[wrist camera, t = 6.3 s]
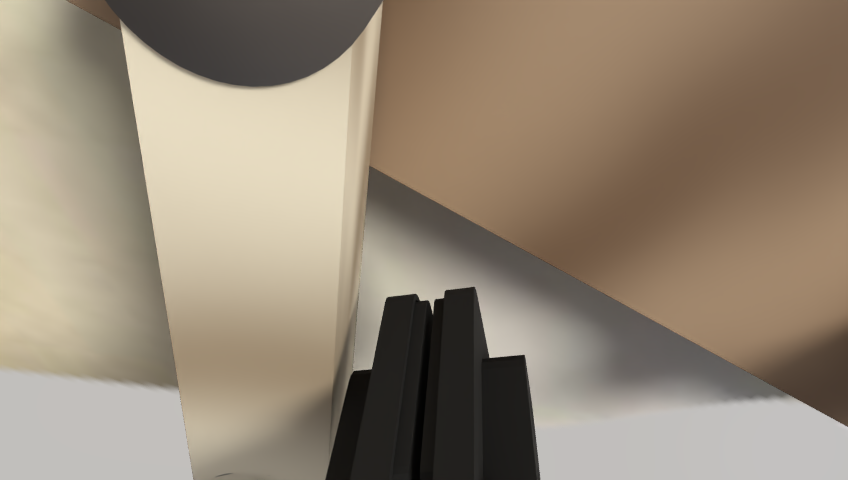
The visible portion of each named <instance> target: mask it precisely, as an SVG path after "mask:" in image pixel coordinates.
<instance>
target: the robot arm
mask: <svg viewBox="0 0 848 480" xmlns="http://www.w3.org/2000/svg"><path fill="white" fill-rule="evenodd" d="M325 480H540V472H539V463H538V454H537V444H536V435H535V426H534V418H533V409H532V401H531V394H530V387H529V380H528V373H527V366H526V360H525V355H518V356H507V357H497V358H489V354H488V348H487V343H486V338H485V333H484V328H483V323H482V318H481V313H480V308H479V302H478V297H477V293H476V289H475V287H470V288H462V289H453V290H446V291H445V295H444V298H443V299H435V302H434V312H433V313H432V309H431V306H430V303H429V301H428V300H427V301H420V300H419V297H418V296H417V294H411V295H402V296H393V297H388V298H387V299H386V302H385V306H384V311H383V316H382V321H381V326H380V331H379V336H378V341H377V346H376V351H375V357H374V362H373V367H372V369H371V370H360V371H354V372H353V373H352V374H351V376H350V379H349V382H348V386H347V390H346V395H345V399H344V403H343V407H342V411H341V416H340V420H339V424H338V428H337V432H336V437H335V441H334V445H333V449H332V453H331V458H330V462H329V466H328V470H327V474H326V479H325Z"/></svg>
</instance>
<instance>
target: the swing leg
mask: <svg viewBox="0 0 848 480" xmlns="http://www.w3.org/2000/svg"><path fill="white" fill-rule="evenodd" d="M105 1H106V3H107V4H108V5H109V7H110V8H111V9H112V10H113V12H114V13H115V14H116V15H117V16H118V17H119V18H120V24H121V30H122V36H123V43H124V49H125V55H126V61H127V68H128V74H129V80H130V86H131V93H132V99H133V105H134V111H135V118H136V124H137V130H138V136H139V143H140V149H141V155H142V161H143V167H144V174H145V180H146V186H147V192H148V199H149V205H150V211H151V217H152V224H153V230H154V236H155V242H156V249H157V255H158V261H159V267H160V274H161V280H162V286H163V292H164V299H165V305H166V311H167V317H168V323H169V330H170V336H171V342H172V348H173V355H174V361H175V367H176V373H177V380H178V386H179V392H180V398H181V405H182V411H183V417H184V423H185V430H186V436H187V442H188V448H189V454H190V460H191V467H192V473H193V479H194V480H325V479H326V474H327V470H328V466H329V462H330V458H331V453H332V449H333V445H334V441H335V437H336V432H337V428H338V424H339V420H340V416H341V411H342V407H343V403H344V399H345V395H346V390H347V386H348V382H349V379H350V376H351V374H352V370H353V358H354V346H355V334H356V321H357V309H358V297H359V285H360V273H361V261H362V249H363V237H364V224H365V212H366V200H367V188H368V176H369V164H370V152H371V140H372V127H373V115H374V103H375V91H376V79H377V67H378V55H379V43H380V30H381V18H382V6H383V0H105Z"/></svg>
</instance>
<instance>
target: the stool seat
mask: <svg viewBox="0 0 848 480" xmlns="http://www.w3.org/2000/svg"><path fill="white" fill-rule="evenodd" d="M67 1H68V2H70V3H72V4H74V5H76V6H78V7H79V8H81V9H83V10H85V11H87V12H89V13H90V14H92V15H94V16H96V17H98V18H100V19H101V20H103V21H105V22H107V23H109V24H111V25H112V26H114V27H116V28H118V29H120V30H121V24H120V18H119V17H118V16H117V15H116V14H115V13H114V12H113V10H112V9H111V8H110V7H109V5H108V4H107V3H106V1H105V0H67ZM369 166H371V167H373V168H374V169H376V170H378V171H380V172H382V173H384V174H385V175H387V176H389V177H391V178H393V179H395V180H396V181H398V182H400V183H402V184H404V185H406V186H407V187H409V188H411V189H413V190H415V191H417V192H418V193H420V194H422V195H424V196H426V197H428V198H429V199H431V200H433V201H435V202H437V203H439V204H440V205H442V206H444V207H446V208H448V209H450V210H451V211H453V212H455V213H457V214H459V215H461V216H462V217H464V218H466V219H468V220H470V221H472V222H473V223H475V224H477V225H479V226H481V227H483V228H484V229H486V230H488V231H490V232H492V233H494V234H495V235H497V236H499V237H501V238H503V239H505V240H506V241H508V242H510V243H512V244H514V245H516V246H517V247H519V248H521V249H523V250H525V251H527V252H528V253H530V254H532V255H534V256H536V257H538V258H539V259H541V260H543V261H545V262H547V263H549V264H550V265H552V266H554V267H556V268H558V269H560V270H561V271H563V272H565V273H567V274H569V275H571V276H572V277H574V278H576V279H578V280H580V281H582V282H583V283H585V284H587V285H589V286H591V287H593V288H594V289H596V290H598V291H600V292H602V293H604V294H605V295H607V296H609V297H611V298H613V299H615V300H616V301H618V302H620V303H622V304H624V305H626V306H627V307H629V308H631V309H633V310H635V311H637V312H638V313H640V314H642V315H644V316H646V317H648V318H649V319H651V320H653V321H655V322H657V323H659V324H660V325H662V326H664V327H666V328H668V329H670V330H671V331H673V332H675V333H677V334H679V335H681V336H682V337H684V338H686V339H688V340H690V341H692V342H693V343H695V344H697V345H699V346H701V347H703V348H704V349H706V350H708V351H710V352H712V353H714V354H715V355H717V356H719V357H721V358H723V359H725V360H726V361H728V362H730V363H732V364H734V365H736V366H737V367H739V368H741V369H743V370H745V371H747V372H748V373H750V374H752V375H754V376H756V377H758V378H759V379H761V380H763V381H765V382H767V383H769V384H770V385H772V386H774V387H776V388H778V389H780V390H781V391H783V392H785V393H787V394H789V395H791V396H792V397H794V398H796V399H798V400H800V401H802V402H803V403H805V404H807V405H809V406H811V407H813V408H814V409H816V410H818V411H820V412H822V413H824V414H825V415H827V416H829V417H831V418H833V419H835V420H836V421H838V422H840V423H842V424H844V425H846V426H847V427H848V0H383V6H382V18H381V30H380V43H379V55H378V67H377V79H376V91H375V103H374V115H373V127H372V140H371V152H370V164H369Z"/></svg>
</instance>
